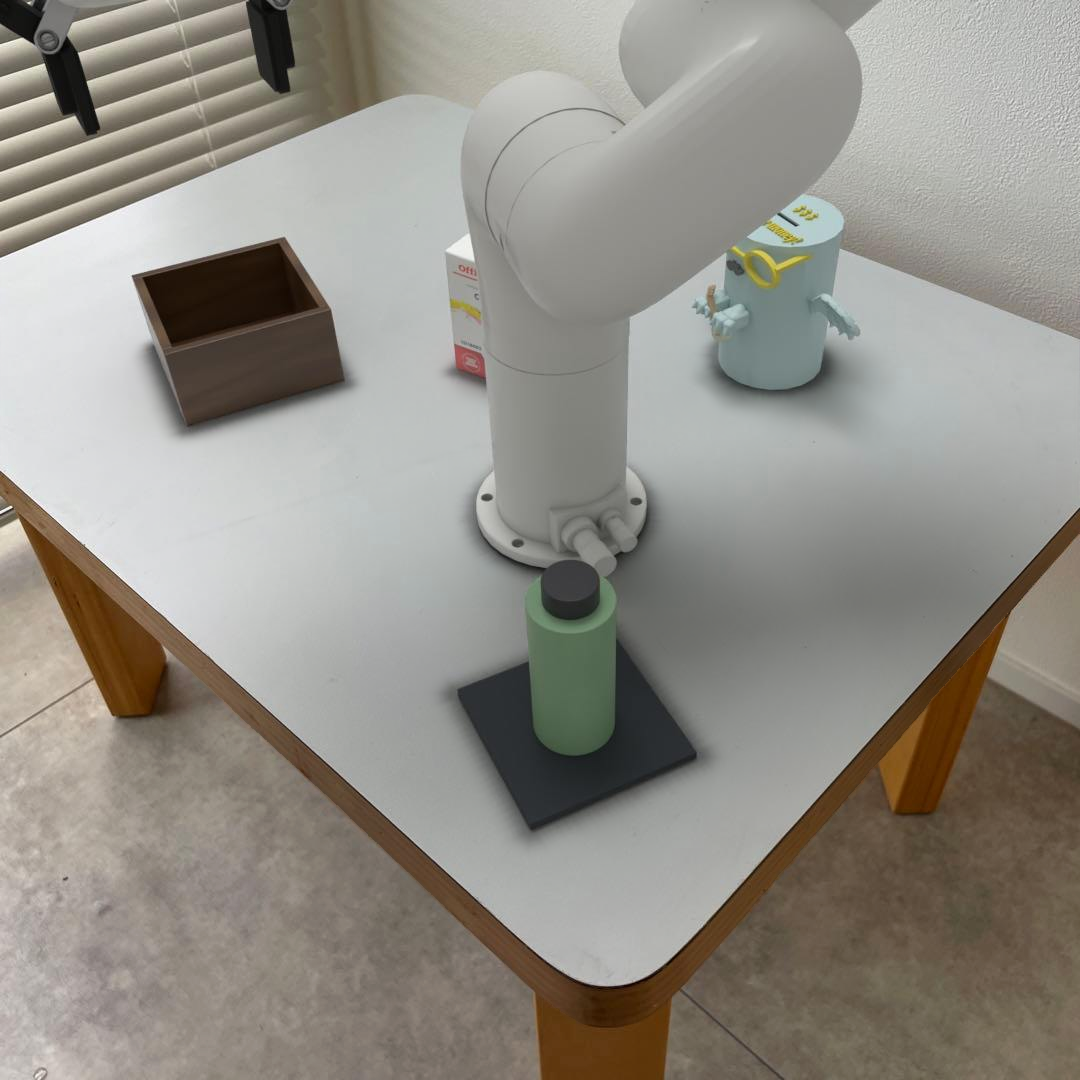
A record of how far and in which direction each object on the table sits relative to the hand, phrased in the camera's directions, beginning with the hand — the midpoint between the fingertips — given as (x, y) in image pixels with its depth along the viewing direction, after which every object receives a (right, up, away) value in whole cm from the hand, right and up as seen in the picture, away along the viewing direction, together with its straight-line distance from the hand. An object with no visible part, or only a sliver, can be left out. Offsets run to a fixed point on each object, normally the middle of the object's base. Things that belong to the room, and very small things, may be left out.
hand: (184, 104), depth 58 cm
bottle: (+20, -33, +12) cm, 41 cm away
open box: (-8, -7, +42) cm, 43 cm away
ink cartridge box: (+16, -8, +40) cm, 44 cm away
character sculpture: (+37, -7, +40) cm, 54 cm away
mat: (+20, -34, +13) cm, 41 cm away
